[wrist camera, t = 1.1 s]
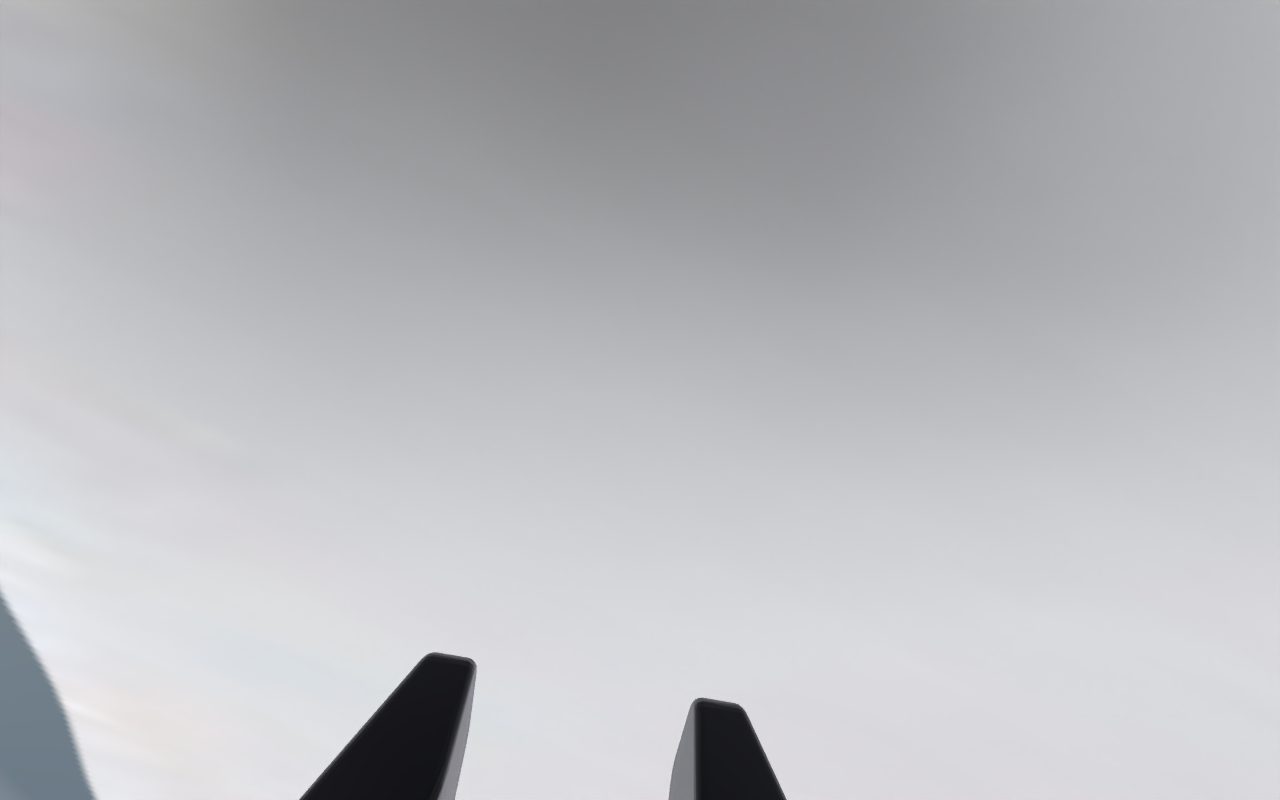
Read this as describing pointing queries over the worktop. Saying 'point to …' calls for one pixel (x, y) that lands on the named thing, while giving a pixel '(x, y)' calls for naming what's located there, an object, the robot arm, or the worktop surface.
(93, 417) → the worktop surface
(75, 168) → the worktop surface
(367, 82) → the worktop surface
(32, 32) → the worktop surface
